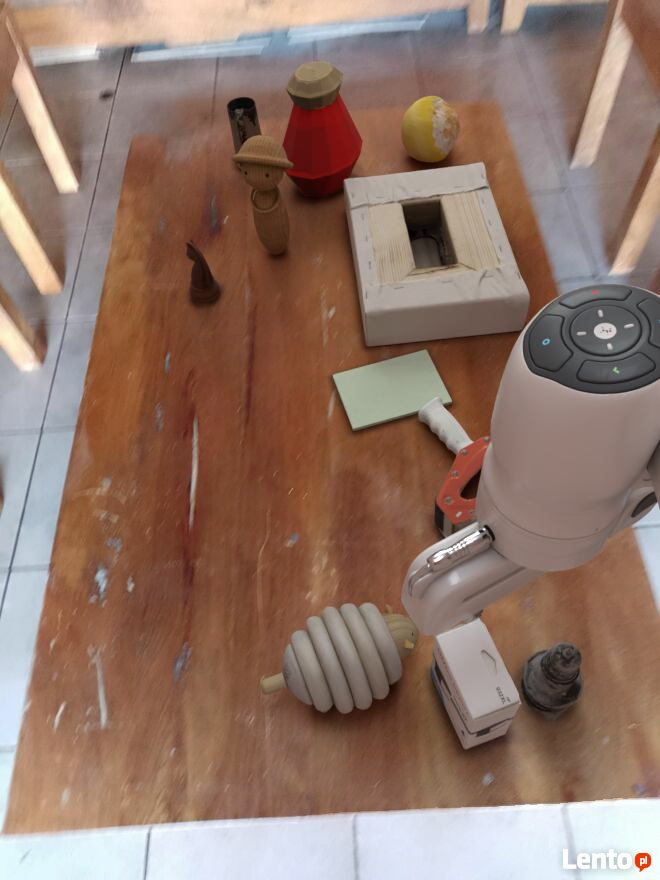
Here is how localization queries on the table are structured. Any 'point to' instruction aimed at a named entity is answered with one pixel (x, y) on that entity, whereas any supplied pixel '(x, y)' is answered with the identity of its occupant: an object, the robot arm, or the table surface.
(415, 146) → the fruit
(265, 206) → the figurine
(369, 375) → the mat
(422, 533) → the table surface
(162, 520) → the table surface
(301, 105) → the bottle
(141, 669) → the table surface
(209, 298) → the chess piece
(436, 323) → the box
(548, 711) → the dark grey tiered post
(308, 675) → the toy sheep
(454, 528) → the tape dispenser
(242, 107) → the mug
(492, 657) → the ink box
